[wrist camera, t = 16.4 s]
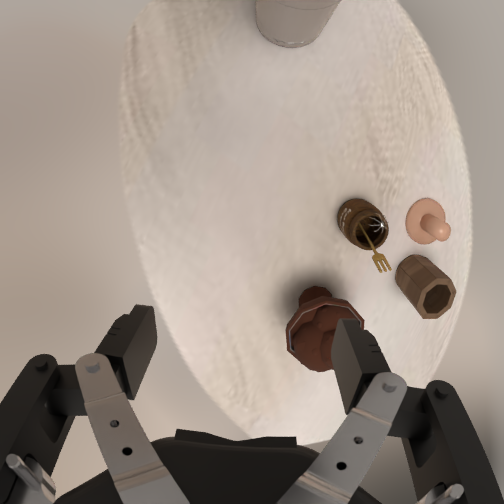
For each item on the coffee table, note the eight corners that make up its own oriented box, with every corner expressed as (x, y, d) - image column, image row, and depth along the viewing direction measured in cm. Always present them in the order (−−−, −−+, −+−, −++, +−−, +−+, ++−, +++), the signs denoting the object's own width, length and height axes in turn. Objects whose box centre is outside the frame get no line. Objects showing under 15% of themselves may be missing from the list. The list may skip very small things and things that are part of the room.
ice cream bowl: (320, 256, 46) (344, 308, 32) (360, 303, 49) (390, 361, 35) (267, 298, 49) (269, 361, 35) (310, 340, 51) (323, 404, 37)
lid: (409, 195, 42) (428, 203, 37) (446, 201, 42) (466, 211, 37) (401, 239, 45) (417, 253, 39) (436, 244, 45) (455, 257, 39)
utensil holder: (372, 194, 42) (407, 215, 31) (375, 235, 45) (408, 267, 33) (333, 200, 43) (358, 223, 32) (338, 241, 45) (362, 276, 34)
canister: (400, 253, 45) (425, 277, 37) (432, 256, 45) (460, 279, 37) (391, 290, 48) (412, 318, 39) (422, 291, 48) (446, 318, 39)
